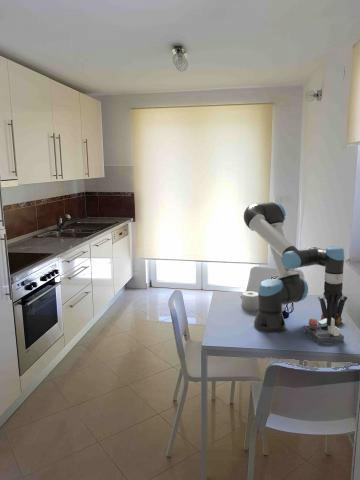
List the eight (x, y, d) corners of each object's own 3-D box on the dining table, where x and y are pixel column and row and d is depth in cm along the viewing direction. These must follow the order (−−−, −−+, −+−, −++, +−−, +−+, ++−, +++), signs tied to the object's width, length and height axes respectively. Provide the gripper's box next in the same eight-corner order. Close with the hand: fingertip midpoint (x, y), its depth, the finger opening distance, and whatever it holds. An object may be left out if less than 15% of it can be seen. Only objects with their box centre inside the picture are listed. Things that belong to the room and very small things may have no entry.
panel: (318, 344, 169) (319, 336, 169) (304, 331, 183) (304, 324, 182) (343, 342, 171) (344, 334, 170) (327, 329, 185) (327, 322, 184)
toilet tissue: (244, 302, 225) (244, 288, 224) (262, 308, 215) (262, 294, 214) (233, 306, 220) (233, 291, 218) (251, 312, 209) (251, 297, 208)
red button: (311, 326, 178) (311, 321, 178) (307, 323, 182) (307, 318, 181) (318, 326, 179) (318, 321, 178) (314, 323, 182) (314, 318, 182)
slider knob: (334, 336, 170) (334, 328, 169) (329, 332, 174) (330, 325, 173) (339, 335, 170) (339, 328, 170) (334, 332, 174) (335, 325, 173)
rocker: (322, 327, 179) (321, 324, 179) (318, 324, 183) (317, 321, 182) (331, 323, 180) (331, 320, 179) (327, 320, 183) (327, 317, 183)
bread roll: (341, 328, 195) (343, 313, 196) (339, 326, 186) (341, 310, 188) (321, 324, 200) (323, 309, 201) (318, 323, 191) (320, 307, 193)
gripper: (324, 285, 163) (321, 336, 167) (352, 283, 164) (349, 334, 168) (315, 280, 170) (313, 329, 174) (342, 278, 172) (339, 327, 176)
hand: (330, 332), depth 171 cm, fingers closed
